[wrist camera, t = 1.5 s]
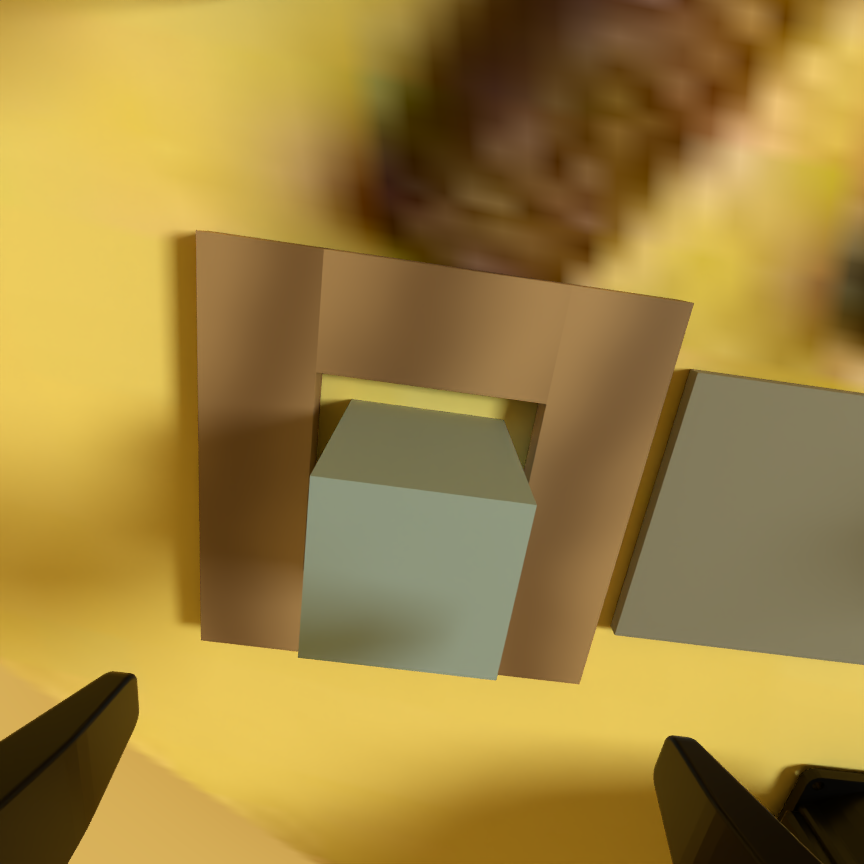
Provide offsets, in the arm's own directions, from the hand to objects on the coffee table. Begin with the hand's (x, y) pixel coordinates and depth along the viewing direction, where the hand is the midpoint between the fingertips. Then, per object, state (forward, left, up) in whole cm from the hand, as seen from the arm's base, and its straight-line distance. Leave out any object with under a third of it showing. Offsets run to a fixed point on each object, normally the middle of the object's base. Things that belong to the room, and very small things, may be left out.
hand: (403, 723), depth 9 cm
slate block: (0, 0, -10) cm, 10 cm away
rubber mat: (-13, 0, -10) cm, 16 cm away
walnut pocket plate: (0, 0, -10) cm, 10 cm away
